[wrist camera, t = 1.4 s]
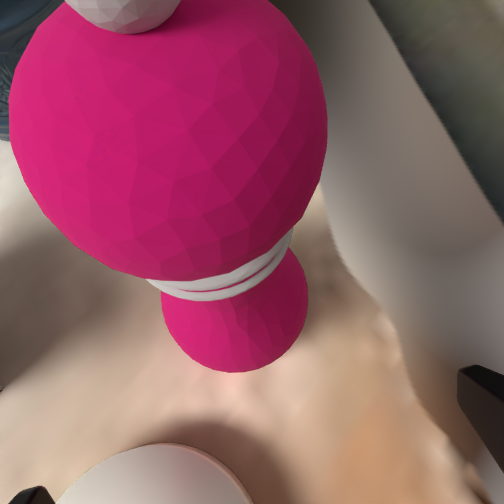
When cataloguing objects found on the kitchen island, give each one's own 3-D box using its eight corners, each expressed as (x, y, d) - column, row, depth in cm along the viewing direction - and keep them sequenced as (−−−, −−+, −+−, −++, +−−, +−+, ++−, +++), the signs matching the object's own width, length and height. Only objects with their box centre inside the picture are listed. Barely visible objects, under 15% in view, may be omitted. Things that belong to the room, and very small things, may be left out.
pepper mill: (255, 406, 20) (10, 379, 1) (161, 330, 22) (-432, -78, 3) (324, 304, 22) (579, -231, 4) (232, 244, 24) (96, -291, 6)
